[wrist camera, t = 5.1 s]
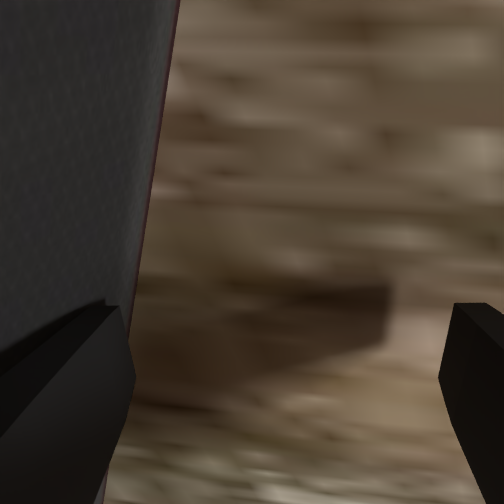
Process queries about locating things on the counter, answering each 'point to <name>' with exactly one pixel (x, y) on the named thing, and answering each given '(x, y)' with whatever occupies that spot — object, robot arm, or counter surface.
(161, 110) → the barrier
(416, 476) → the counter surface
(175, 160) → the counter surface
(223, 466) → the counter surface
